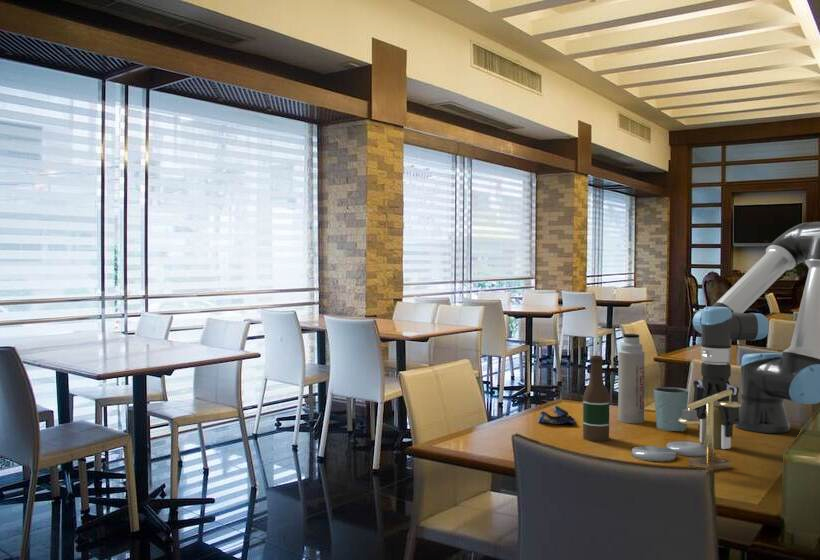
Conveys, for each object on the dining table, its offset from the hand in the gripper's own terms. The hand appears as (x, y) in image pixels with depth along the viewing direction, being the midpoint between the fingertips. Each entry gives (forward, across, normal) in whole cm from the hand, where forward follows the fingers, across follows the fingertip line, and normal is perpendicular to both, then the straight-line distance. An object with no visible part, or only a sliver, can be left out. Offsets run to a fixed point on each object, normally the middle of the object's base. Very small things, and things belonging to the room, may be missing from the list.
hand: (714, 444), depth 195 cm
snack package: (+1, -41, -23) cm, 47 cm away
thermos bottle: (+1, -34, 0) cm, 34 cm away
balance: (0, +14, -17) cm, 22 cm away
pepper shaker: (0, 0, 0) cm, 0 cm away
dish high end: (0, +1, -11) cm, 11 cm away
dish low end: (0, +1, -23) cm, 23 cm away
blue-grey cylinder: (+1, -21, +4) cm, 21 cm away
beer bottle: (+1, -20, -25) cm, 32 cm away
